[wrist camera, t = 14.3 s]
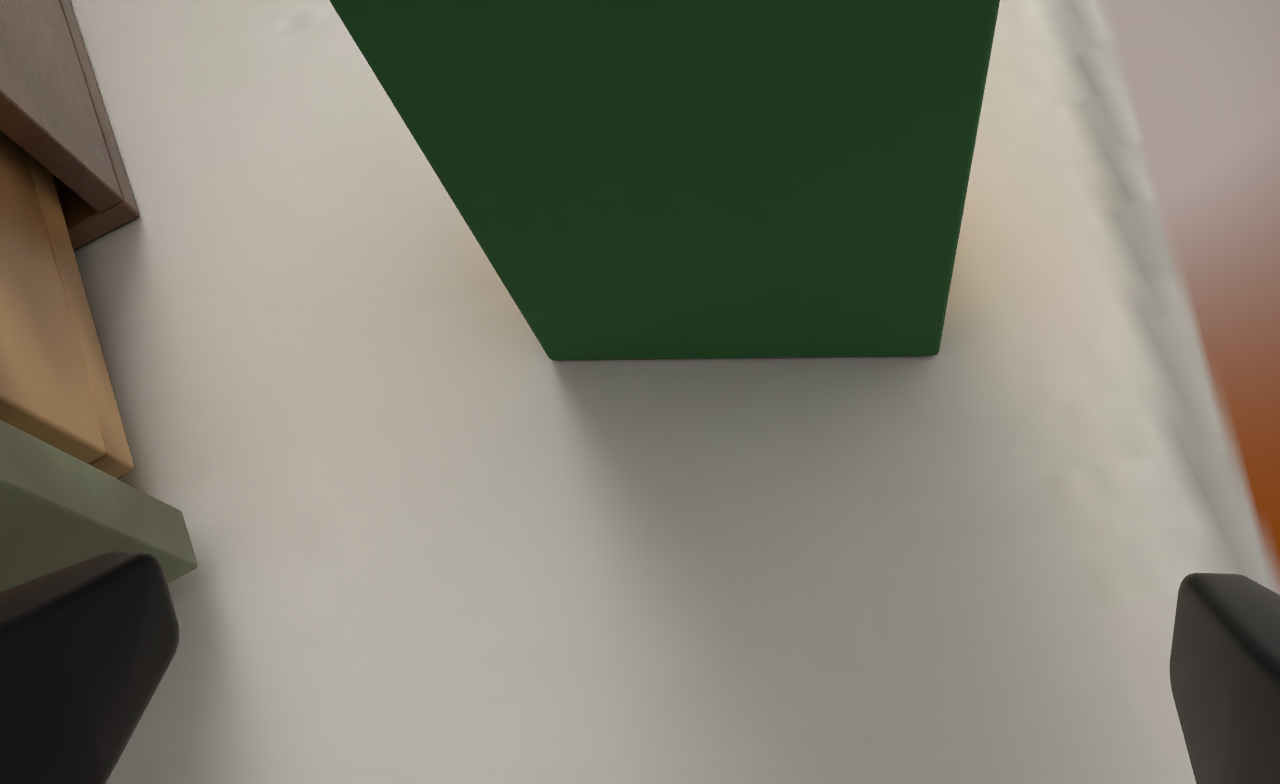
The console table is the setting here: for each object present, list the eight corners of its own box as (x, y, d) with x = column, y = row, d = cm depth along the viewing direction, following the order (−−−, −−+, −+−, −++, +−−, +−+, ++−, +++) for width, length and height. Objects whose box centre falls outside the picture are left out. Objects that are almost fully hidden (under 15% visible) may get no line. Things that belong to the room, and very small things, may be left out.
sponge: (938, 357, 19) (1030, -162, 9) (549, 361, 20) (271, -87, 10) (930, 164, 20) (1001, -455, 11) (569, 180, 21) (343, -356, 12)
